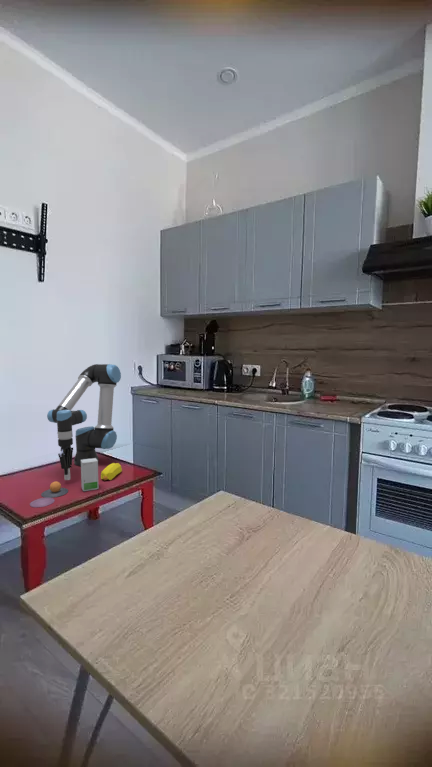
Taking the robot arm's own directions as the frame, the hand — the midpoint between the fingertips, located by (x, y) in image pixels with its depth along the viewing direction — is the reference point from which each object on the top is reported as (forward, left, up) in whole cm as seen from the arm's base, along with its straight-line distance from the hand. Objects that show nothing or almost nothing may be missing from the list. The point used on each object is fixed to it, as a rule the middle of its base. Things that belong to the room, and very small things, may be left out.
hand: (67, 479), depth 206 cm
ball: (+13, 0, +1) cm, 13 cm away
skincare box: (+7, +16, -2) cm, 18 cm away
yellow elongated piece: (-12, +21, -2) cm, 24 cm away
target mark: (+14, 0, -2) cm, 14 cm away
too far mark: (+26, 0, -2) cm, 26 cm away
